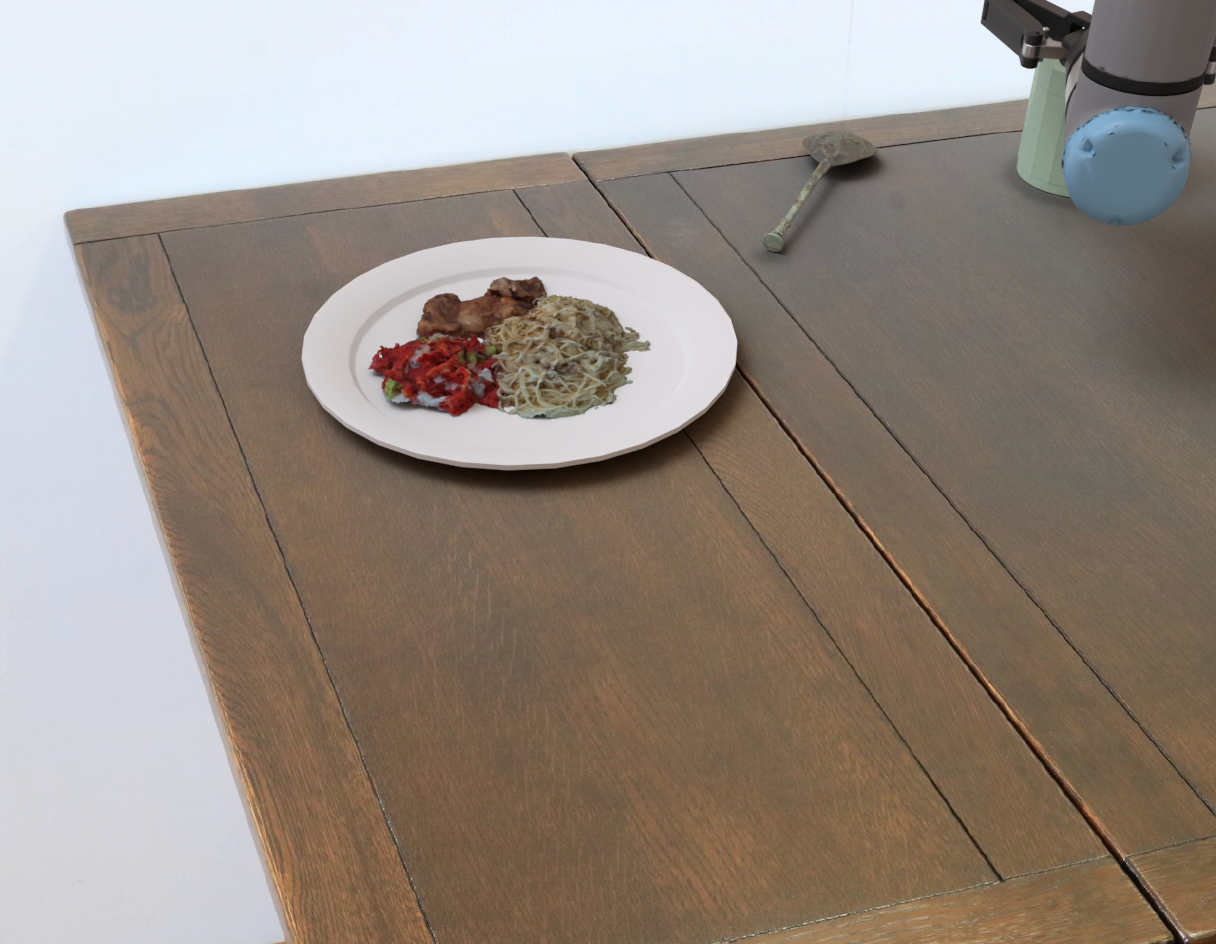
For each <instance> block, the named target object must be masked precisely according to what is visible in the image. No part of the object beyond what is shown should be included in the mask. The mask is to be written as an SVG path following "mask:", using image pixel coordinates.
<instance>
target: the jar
mask: <svg viewBox="0 0 1216 944" xmlns="http://www.w3.org/2000/svg"><path fill="white" fill-rule="evenodd" d="M1065 88H1066V68H1065V67H1064V66H1062V65H1061V63H1060V62H1059V59H1048V58H1044V59H1043V61H1042V62H1038V66H1037V68H1034V72H1033V77H1032V83H1031V87H1030V92H1029V98H1028V103H1027V107H1026V111H1025V112H1026V113H1025V117H1024V123H1023V128H1022V133H1021V136H1020V141H1019V147H1018V153H1017V163H1016V171H1017V174H1018V175H1019V177H1020V178H1021V179H1022V180H1023V181H1024V182H1025V183H1027V184H1028V185H1030V186H1031V187H1034V188H1035V189H1038V190H1041V191H1043V192H1046V193H1048V194H1052V195H1056V196H1060V197H1066V198H1070V196H1069V193H1068V191H1067V187H1066V182H1065V177H1064V175H1063V169H1062V167H1061V161H1062V156H1063V152H1064V145H1065V129H1066V121H1065Z"/></svg>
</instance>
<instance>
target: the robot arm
mask: <svg viewBox="0 0 1216 944" xmlns="http://www.w3.org/2000/svg"><path fill="white" fill-rule="evenodd" d="M1094 2H1095V4H1094V3H1093V7H1094V9H1093V8H1092V11H1093V15H1092V13H1089V12H1087V11H1085V10H1078V11H1072V12H1071V11H1069V10H1067V9H1066V8H1063V7H1062V6H1059V5H1057V4H1055V3H1054V2H1052V1H1049V0H983V6H982V12H981V17H980V25H982V26H983V27H984V28H985V29H986V30H988V31H989V32H990V33H991V34H992V35H994V37H996V38H997V39H998V40H999V41H1000V42H1001V43H1003V44H1004V45H1005V46H1006V47H1007V48H1008V49H1009V50H1011V51H1012V52H1013V53H1014V54H1015V55H1016V56H1018V58H1019V59H1018V60H1019V63H1020V66H1021V67H1022V68H1025V69H1027V70H1035V68H1037V66H1038V62H1042V61H1043V59H1044V58H1048V59H1059V62H1060V63H1061V65H1062V66H1064V67H1065V68H1066V88H1065V121H1066V129H1065V145H1064V152H1063V156H1062V161H1061V167H1062V169H1063V175H1064V177H1065V182H1066V187H1067V191H1068V193H1069V196H1070V197H1069V198H1070V199H1071V201H1072V202H1073V204H1074V205H1075V207H1076V208H1077V209H1078V210H1079V211H1080V212H1081V213H1082V214H1083V215H1084V216H1087V217H1088V219H1091V220H1092V221H1095V222H1097V223H1099V224H1100V223H1101V224H1104V225H1108V226H1112V227H1128V226H1135V225H1140V224H1143V223H1146V222H1148V221H1150V220H1153V219H1155V218H1156V217H1158V216H1160V215H1161V214H1163V213H1164V212H1165V211H1167V210H1168V209H1170V207H1171V206H1172V205H1173V204H1175V202H1176V201H1177V200H1178V198H1179V197H1180V196H1181V194H1182V192H1183V191H1184V189H1185V186H1186V184H1187V182H1188V178H1189V173H1190V163H1191V162H1192V158H1193V149H1192V148H1191V145H1192V142H1191V139H1190V135H1191V131H1192V127H1193V124H1194V119H1195V118H1196V117H1195V116H1196V113H1197V109H1198V106H1199V102H1200V98H1201V95H1202V90H1203V87H1204V86H1210V85H1214V84H1215V81H1216V0H1094Z"/></svg>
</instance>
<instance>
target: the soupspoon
mask: <svg viewBox="0 0 1216 944" xmlns="http://www.w3.org/2000/svg"><path fill="white" fill-rule="evenodd" d="M801 145H802V146H803V148H804V150H805V151H806V152H807V153H808V154H809V155H810V156H811V158H813V159H814V160H815V161H816V162H818V165H817V166H816V168H815V169H814V170H813V172H812V173H811V174H810V176H809V178H808V180H807V181H806V183H805V184H804V186H803V188H802V189H801V191H800V193H799V194H798V196H797V198H796V200H795V201H794V203H793V204H792V206H791V207H790V209H789V210H788V212H787V214H786V215H785V217H783V218H781V219H780V220H779V224H778V225H777V226H776V227H775V228H774V229H773V230H772V231H771V232H770V233H766V234H765V235H764V236H763V237H762V245H763V246H764V247H765V248H766V249H767V250H768V251H770V252H773V253H779V252H781V251H782V250H783V249H784V247H785V242H784V239H785V236H786V234H787V233H788V229H789V228H790V227H791V226H792V222H793V221H794V219H795V218H796V216H797V215H798V213H799V212H800V211H801V209H802V208H803V206H804V205H805V203H806V202H807V201H808V199H809V197H810V196H811V194H812V192H813V191H814V189H815V188H816V186H817V185H818V184H819V182H820V181H821V180H822V179H823V177H824V176H825V175H826V173H828V171H830V169H831V168H832V167H837V166H843V165H847V164H852V163H855V162H858V161H860V160H864V159H868V158H872V157H874V156H875V155H876V154H878V153H879V150H878V148H877V147H876V146H875V145H874V144H872V143H871V141H869V140H867V139H865V137H862V136H860V135H858V134H855V133H853V132H849V131H844V130H838V129H829V130H828V129H827V130H822V131H817V132H814V133H812V134H809V135H808V136H806V137H805V138H803V139H802V140H801Z"/></svg>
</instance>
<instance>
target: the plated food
mask: <svg viewBox="0 0 1216 944" xmlns="http://www.w3.org/2000/svg"><path fill="white" fill-rule="evenodd" d="M737 351H738V339H737V334H736V332H735V328H734V325H733V322H732V319H731V318H730V316H729V314H728V313H727V312H726V310H725V309H724V307H723V305H722V304H721V302H720V301H719V300H718V299H717V298H716V297H715V296H714V295H713V294H711V293H710V292H709V291H708V290H707V289H706V288H705V287H704V286H703V285H701V284H700V283H699V282H698V281H697V280H695V279H693V278H691V277H690V276H688V275H686V274H685V273H683V272H681V271H679V270H678V269H676V268H674V267H673V266H672V265H669V264H667V263H663V262H661V261H658V260H656V259H655V258H651V257H649V256H646V255H644V254H641V253H639V252H636V251H631V250H627V249H623V248H620V247H616V246H613V245H608V244H604V243H598V242H591V241H586V240H579V239H574V238H573V239H572V238H561V237H546V236H545V237H543V236H510V237H509V236H508V237H507V236H505V237H504V236H503V237H490V238H489V237H488V238H480V239H473V240H466V241H458V242H452V243H447V244H444V245H439V246H435V247H430V248H425V249H421V250H418V251H415V252H412V253H408V254H407V255H403V256H401V257H398V258H395V259H392V260H389V261H386V262H384V263H382V264H380V265H378V266H376V267H374V268H372V269H370V270H368V271H366V272H364V273H363V274H360V275H358V276H356V277H355V278H354V279H352V280H351V281H349V282H348V283H347V284H345V285H344V286H343V287H341V288H340V289H338V290H337V291H336V292H334V293H333V294H332V295H331V296H330V297H329V298H328V299H327V300H326V301H325V302H324V303H323V305H322V306H321V307H320V308H319V309H318V310H317V311H316V312H315V314H314V315H313V317H312V319H311V321H310V323H309V325H308V327H307V329H306V331H305V333H304V335H303V342H302V350H301V364H302V367H303V372H304V376H305V379H306V384H307V386H308V388H309V389H310V391H311V392H312V394H313V396H314V397H315V399H316V400H317V401H318V402H319V404H320V405H321V407H322V408H323V409H324V411H326V412H327V413H329V414H330V415H331V416H332V417H333V418H334V419H335V420H337V421H338V422H339V423H340V424H341V425H343V426H344V427H345V428H346V429H348V430H349V431H351V432H354V433H355V434H357V435H359V436H361V437H363V438H365V439H367V440H368V441H370V442H372V443H374V444H376V445H377V446H380V447H384V448H386V449H389V450H391V451H395V452H398V453H401V454H403V455H406V456H410V457H412V458H414V459H415V458H416V459H419V460H424V461H429V462H433V463H439V464H443V465H449V466H455V467H460V468H470V469H473V468H474V469H485V470H500V471H520V470H521V471H522V470H523V471H525V470H541V469H542V470H545V469H547V470H548V469H559V468H566V467H570V466H571V467H572V466H577V465H584V464H589V463H590V464H591V463H596V462H601V461H606V460H609V459H611V458H616V457H618V456H622V455H626V454H629V453H631V452H635V451H639V450H642V449H644V448H647V447H649V446H651V445H653V444H656V443H658V442H660V441H661V440H664V439H666V438H668V437H670V436H673V435H674V434H677V433H679V432H680V431H682V430H683V429H684V428H686V427H687V426H689V425H690V424H692V423H693V422H694V421H696V420H697V419H699V418H700V417H701V416H703V415H704V414H706V413H707V411H709V409H710V408H711V407H712V406H713V405H714V404H715V403H716V402H717V400H718V399H719V398H720V397H721V396H722V395H723V394H724V393H725V391H726V389H727V387H728V385H729V383H730V381H731V379H732V377H733V374H734V372H735V370H736V363H737Z"/></svg>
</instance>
